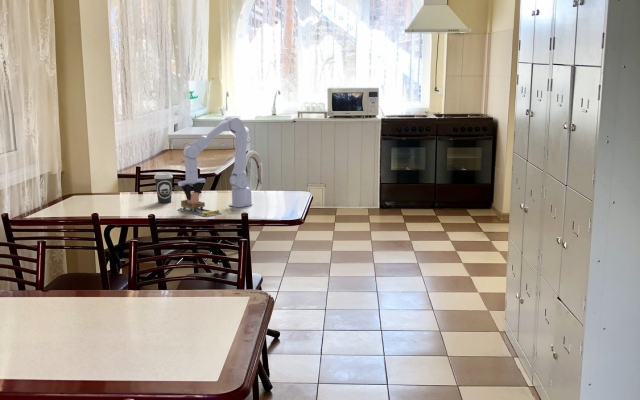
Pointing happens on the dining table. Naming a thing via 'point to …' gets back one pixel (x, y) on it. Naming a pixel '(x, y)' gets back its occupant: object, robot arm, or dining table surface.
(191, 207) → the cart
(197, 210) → the rail
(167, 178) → the coffee cup
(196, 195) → the block
